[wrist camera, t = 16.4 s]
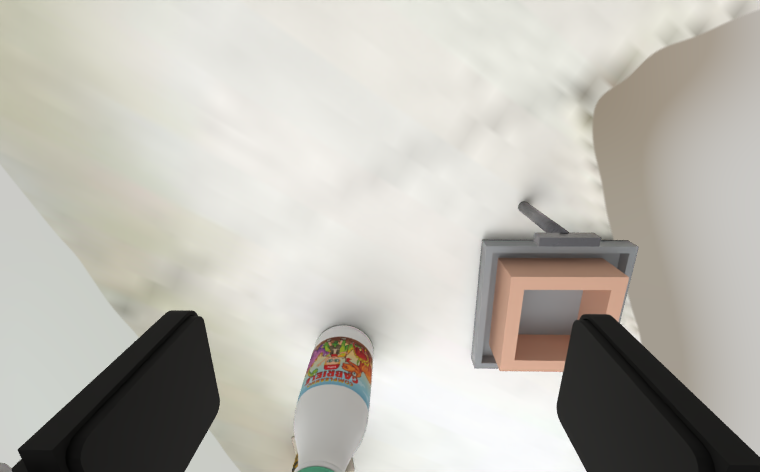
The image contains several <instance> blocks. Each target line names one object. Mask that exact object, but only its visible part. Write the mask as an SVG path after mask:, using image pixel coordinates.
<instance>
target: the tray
mask: <svg viewBox="0 0 760 472" xmlns="http://www.w3.org/2000/svg"><path fill="white" fill-rule="evenodd" d="M637 252H638V246H637V245H635V244H633V243H631V242H630V241H628V240H601V241H600V246H599V247H545V246H538V245H537V244H536V243H535V242H534V240H482V247H481V257H480V268H479V279H478V290H477V301H476V312H475V323H474V333H473V344H472V355H471V359H472V362H473V365H474V368H488V369H499V368H498V365H497V363H496V361H495V358H494V356H493V353H492V351H491V348H490V346H489V338H490V329H491V319H492V310H493V301H494V291H495V282H496V273H497V263H498V258H603V259H605V260H606V261H607V262H609V263H610V264H612V265H613V266H614V267H616V268H617V269H619V270H620V271H621V272H623V273H624V274H625V275H627V276H628V277H629V281H628V285H627V289H626V293H625V297H624V301H623V305H622V309H621V313H620V317H619V321H618V322H619V323H620V320H621V316H622V312H623V308H624V304H625V300H626V296H627V292H628V288H629V284H630V280H631V276H632V272H633V268H634V264H635V260H636V256H637ZM582 293H583V290H524V295H523V302H522V309H521V317H520V324H519V331H518V334H528V335H571V330H572V325H573V323H574V321H575V320H577V318H578V313H579V308H580V303H581V298H582Z"/></svg>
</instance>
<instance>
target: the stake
mask: <svg viewBox="0 0 760 472" xmlns="http://www.w3.org/2000/svg"><path fill="white" fill-rule="evenodd" d="M518 209H519V210H520V211H521V212H522V213H523V214H524V215H526V216H527V217H528V218H529V219H530V220H532V221H533V222H534V223H535V224H537V225H538V226H539V227H540V228H541V229H543V230H544V231H545V232H546V233H535V234H534V242H535V243H536V244H537V245H538V246H545V247H599V246H600V241H601V237H599V236H598V235H596V234H595V233H569V232H568V231H567V230H565V229H564V228H562V227H561V226H560V225H558V224H557V223H555V222H554V221H553V220H551V219H550V218H548V217H547V216H546V215H544V214H543V213H541V212H540V211H539V210H537V209H536V208H534V207H533V206H532V205H530V204H529V203H527V202H521V203H520V204H519V206H518Z"/></svg>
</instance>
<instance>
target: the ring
mask: <svg viewBox="0 0 760 472" xmlns="http://www.w3.org/2000/svg"><path fill="white" fill-rule="evenodd" d="M628 281H629V277H628V276H627V275H625V274H624V273H623V272H621V271H620V270H619V269H617V268H616V267H614V266H613V265H612V264H610V263H609V262H607V261H606V260H605V259H603V258H498V263H497V273H496V282H495V291H494V301H493V310H492V319H491V329H490V338H489V346H490V348H491V351H492V353H493V356H494V358H495V361H496V363H497V365H498V368H499V370H500V371H543V372H563V371H564V366H565V361H566V356H567V350H568V345H569V340H570V335H528V334H518V331H519V324H520V317H521V309H522V302H523V295H524V290H583V293H582V298H581V303H580V308H579V313H578V318H577V320H579V319H580V317H581V316H582V315H583V314H608V315H611V316H612V317H613V318H615V319H616V320H617V321H619V317H620V313H621V309H622V305H623V301H624V297H625V293H626V289H627V285H628Z"/></svg>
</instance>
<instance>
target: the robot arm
mask: <svg viewBox="0 0 760 472" xmlns="http://www.w3.org/2000/svg"><path fill="white" fill-rule="evenodd" d="M219 405H220V398H219V393H218V388H217V383H216V378H215V373H214V368H213V363H212V358H211V353H210V348H209V343H208V338H207V333H206V328H205V323H204V320H203V318H202V317H200V316H198V315H197V313H196V312H195V311H168V312H167V313H166V314H165V315H163V316H162V317H161V318H160V319H159V320H158V321H157V322H156V323H155V324H154V325H153V326H151V327H150V328H149V329H148V330H147V331H146V332H145V333H144V334H143V335H142V336H141V337H140V338H138V339H137V340H136V341H135V342H134V343H133V344H132V345H131V346H130V347H129V348H128V349H126V350H125V351H124V352H123V353H122V354H121V355H120V356H119V357H118V358H117V359H116V360H115V361H113V362H112V363H111V364H110V365H109V366H108V367H107V368H106V369H105V370H104V371H103V372H101V373H100V374H99V375H98V376H97V377H96V378H95V379H94V380H93V381H92V382H91V383H90V384H88V385H87V386H86V387H85V388H84V389H83V390H82V391H81V392H80V393H79V394H78V395H76V396H75V397H74V398H73V399H72V400H71V401H70V402H69V403H68V404H67V405H66V406H65V407H64V408H62V409H61V410H60V411H59V412H58V413H57V414H56V415H55V416H54V417H53V418H51V419H50V420H49V421H48V422H47V423H46V424H45V425H44V426H43V427H42V428H41V429H40V430H38V432H36V433H35V434H34V435H33V436H32V437H31V438H30V439H29V440H28V441H26V442H25V444H23V445H22V446H21V447H20V448H19V449H18V452H19V454H20V456H21V458H22V459H21V460H20V461H19V462H18V463H17V464H16V465H15V466H14V467H13V468H10V467H9V466H8V465H7V464H5V463H0V472H184V471H185V470H186V468H187V466H188V465H189V463H190V461H191V459H192V457H193V456H194V454H195V452H196V450H197V449H198V447H199V445H200V443H201V442H202V440H203V438H204V436H205V434H206V433H207V431H208V429H209V427H210V426H211V424H212V422H213V420H214V419H215V417H216V415H217V413H218V410H219ZM557 414H558V418H559V420H560V422H561V424H562V426H563V428H564V430H565V432H566V433H567V435H568V437H569V439H570V441H571V443H572V445H573V447H574V448H575V450H576V452H577V454H578V456H579V458H580V460H581V462H582V463H583V465H584V467H585V469H586V471H587V472H760V457H759V456H758V455H757V454H756V453H755V452H754V451H753V450H752V449H751V448H749V447H748V446H747V445H746V444H745V443H744V442H743V441H742V440H741V439H740V438H739V437H738V436H737V435H736V434H735V433H734V432H733V431H732V430H731V429H730V428H729V427H728V426H726V425H725V424H724V423H723V422H722V421H721V420H720V419H719V418H718V417H717V416H716V415H715V414H714V413H713V412H712V411H711V410H710V409H709V408H707V406H706V405H705V404H703V403H702V402H701V401H700V400H699V399H698V398H697V397H696V396H695V395H694V394H693V393H692V392H691V391H690V390H689V389H688V388H687V387H685V385H684V384H682V383H681V382H680V381H679V380H678V379H677V378H676V377H675V376H674V375H673V374H672V373H671V372H670V371H669V370H668V369H667V368H666V367H664V365H663V364H662V363H661V362H659V361H658V360H657V359H656V358H655V357H654V356H653V355H652V354H651V353H650V352H649V351H648V350H647V349H646V348H645V347H644V346H643V345H642V344H641V343H640V342H639V341H638V340H636V339H635V338H634V337H633V336H632V335H631V334H630V333H629V332H628V331H627V330H626V329H625V328H624V327H623V326H622V325H621V324H620V323H619V322H618V321H617V320H616V319H615V318H613V317H612V316H611V315H608V314H583V315H582V316H581V317H580V319H579V320H575V321H574V323H573V325H572V330H571V335H570V340H569V345H568V350H567V356H566V361H565V366H564V371H563V376H562V381H561V386H560V391H559V396H558V401H557Z"/></svg>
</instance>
